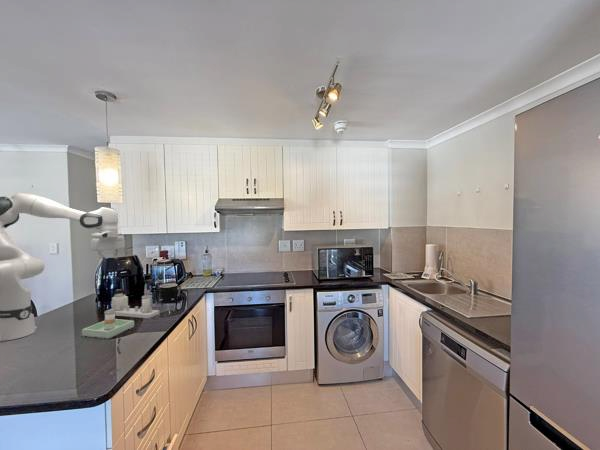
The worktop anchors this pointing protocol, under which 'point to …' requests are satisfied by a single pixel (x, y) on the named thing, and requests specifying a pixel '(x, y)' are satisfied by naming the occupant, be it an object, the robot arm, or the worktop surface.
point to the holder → (135, 312)
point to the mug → (168, 293)
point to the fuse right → (145, 303)
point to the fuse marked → (109, 320)
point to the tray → (99, 331)
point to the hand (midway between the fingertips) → (109, 257)
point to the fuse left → (118, 301)
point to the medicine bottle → (125, 298)
